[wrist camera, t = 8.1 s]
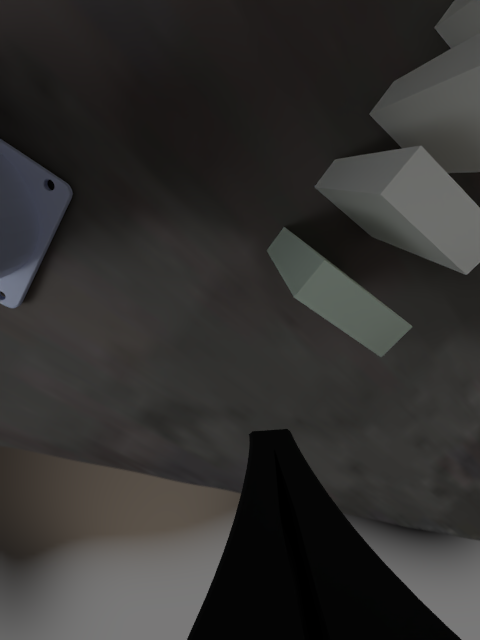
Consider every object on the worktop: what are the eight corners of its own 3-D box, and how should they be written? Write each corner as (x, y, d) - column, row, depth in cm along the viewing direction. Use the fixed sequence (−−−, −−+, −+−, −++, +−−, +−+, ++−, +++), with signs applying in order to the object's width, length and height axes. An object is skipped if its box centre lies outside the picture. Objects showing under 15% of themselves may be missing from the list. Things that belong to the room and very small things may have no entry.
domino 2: (314, 186, 16) (380, 194, 9) (335, 159, 16) (420, 145, 9) (371, 236, 17) (466, 275, 10) (392, 212, 17) (506, 236, 10)
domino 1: (369, 114, 15) (493, 59, 8) (393, 81, 14) (548, -7, 7) (426, 173, 16) (575, 170, 9) (450, 145, 15) (628, 119, 9)
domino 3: (266, 250, 17) (293, 297, 11) (284, 226, 17) (324, 259, 10) (323, 291, 19) (381, 357, 12) (341, 270, 18) (412, 326, 11)
